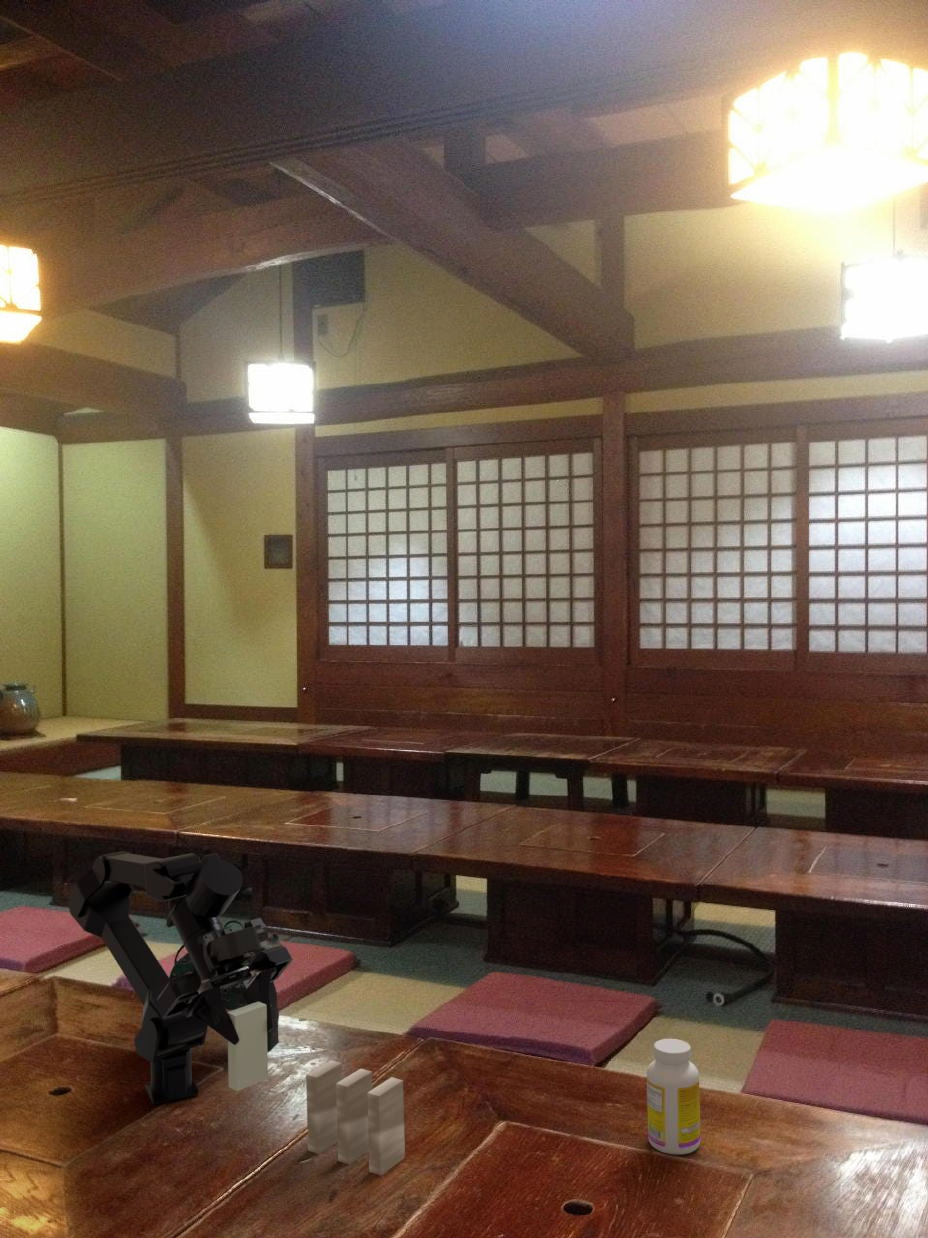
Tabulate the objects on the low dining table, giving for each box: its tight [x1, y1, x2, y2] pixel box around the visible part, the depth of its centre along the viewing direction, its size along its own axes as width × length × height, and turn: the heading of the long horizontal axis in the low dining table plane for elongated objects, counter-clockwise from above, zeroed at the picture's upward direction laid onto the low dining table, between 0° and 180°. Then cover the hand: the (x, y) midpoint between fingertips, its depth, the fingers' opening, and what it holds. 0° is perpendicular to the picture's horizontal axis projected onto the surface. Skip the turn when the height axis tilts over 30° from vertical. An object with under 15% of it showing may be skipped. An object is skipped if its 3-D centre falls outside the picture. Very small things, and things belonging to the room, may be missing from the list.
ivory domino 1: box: [305, 1059, 343, 1155], centre depth 146 cm, size 2×5×10 cm, turn 147°
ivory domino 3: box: [367, 1076, 406, 1177], centre depth 140 cm, size 2×5×10 cm, turn 147°
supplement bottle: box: [646, 1038, 701, 1156], centre depth 144 cm, size 7×7×13 cm
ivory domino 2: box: [336, 1068, 373, 1165], centre depth 143 cm, size 2×5×10 cm, turn 147°
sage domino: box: [227, 1001, 269, 1092], centre depth 148 cm, size 2×5×10 cm, turn 137°
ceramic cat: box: [168, 918, 285, 1052], centre depth 178 cm, size 20×6×20 cm, turn 77°
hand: (253, 1036), depth 147 cm, fingers closed on sage domino, 5 cm apart
